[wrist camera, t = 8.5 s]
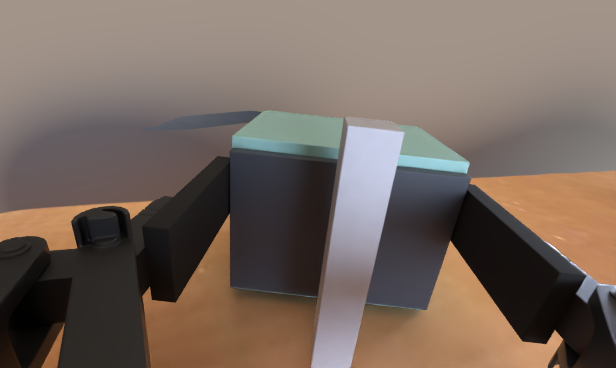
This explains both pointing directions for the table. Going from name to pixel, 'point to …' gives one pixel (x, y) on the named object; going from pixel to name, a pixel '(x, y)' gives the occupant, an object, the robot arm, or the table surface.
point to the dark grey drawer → (342, 230)
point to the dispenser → (338, 142)
